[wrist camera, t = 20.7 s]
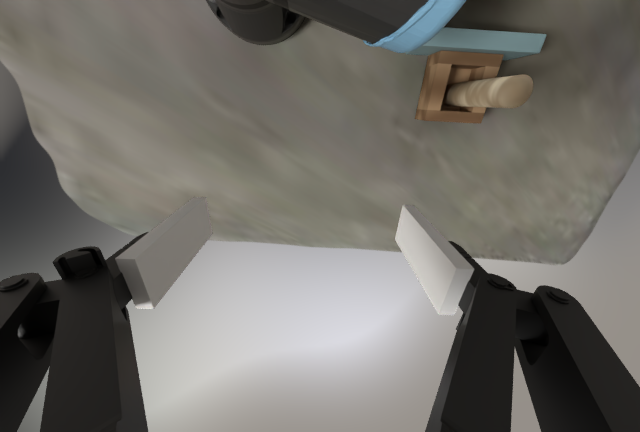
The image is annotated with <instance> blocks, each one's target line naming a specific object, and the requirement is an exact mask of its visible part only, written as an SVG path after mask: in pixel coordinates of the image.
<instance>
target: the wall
mask: <svg viewBox="0 0 640 432" xmlns="http://www.w3.org/2000/svg"><path fill="white" fill-rule="evenodd" d="M546 35H547V34H534V33H520V32H505V31H490V30H475V29H461V28H446V27H443V28H442V29H441V30H440V31H439V32H438V33H437V34H436V35H435V36H434V37H433V38H432V39H431V40H429V41H428V42H427V43H426V44H424V45H423V46H421V47H419V48H418V49H416V50H413V51H409V52H406V54H414V55H431V54H434V53H436V52H439V51H441V50H442V51H458V52H473V53H489V54H504V56H503V59H502V60H510V59H514V58H519V57H524V56H528V55H533V54H537V53H540V50H541V48H542V45H543V43H544V40H545V38H546Z"/></svg>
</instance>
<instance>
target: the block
mask: <svg viewBox="0 0 640 432" xmlns="http://www.w3.org/2000/svg"><path fill="white" fill-rule="evenodd" d="M503 56H504V54H489V53H473V52H458V51H442V50H441V51H439V52H436V53H434V54H431V55H429V56H428V60H427V65H426V69H425V74H424V79H423V83H422V88H421V93H420V97H419V102H418V107H417V111H416V116H415V119H419V120H425V121H444V122H463V123H481V122H482V119H483V116H484V113H485V110H486V107H467V106H445V105H443V104H442V101H443V97H444V93H445V89H446V85H448V84H452V83H460V82H468V81H475V80H483V79H491V78H496V77H497V74H498V71H499V68H500V65H501V62H502V59H503Z"/></svg>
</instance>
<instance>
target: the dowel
mask: <svg viewBox="0 0 640 432" xmlns="http://www.w3.org/2000/svg"><path fill="white" fill-rule="evenodd" d="M532 90H533V81H532V79H531V77H530V76H528V75H515V76H507V77H499V78H491V79H483V80H475V81H468V82H460V83H452V84H448V85H446V89H445V93H444V97H443V101H442V104H443V105H445V106H467V107H494V108H516V107H519V106H521V105H522V104H524V103H525V102H526V101H527V100H528V98H529V97H530V95H531V93H532Z"/></svg>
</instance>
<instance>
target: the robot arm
mask: <svg viewBox="0 0 640 432" xmlns="http://www.w3.org/2000/svg"><path fill="white" fill-rule="evenodd" d="M206 1H207V3H208V5H209V7H210V8H211V10H212V11H213V13H214V14H215V15H216V17H217V18H218V19H219V20H220V22H221V23H222V24H223V25H224V26H225V27H227V28H228V29H229V30H230V31H231V32H232V33H234V34H235V35H236V36H238V37H239V38H241V39H243V40H245V41H247V42H250V43H253V44H257V45H271V44H276V43H279V42H281V41H283V40H285V39H287V38H288V37H290V36H291V35H292V34H293V33H294V32H295V31H296V30H297V29H298V28H299V26H300V25H301V24H302V22H303V20H304V19H305V17H307V18H310V19H312V20H315V21H317V22H320V23H322V24H325V25H327V26H330V27H332V28H335V29H337V30H339V31H342V32H344V33H347V34H349V35H352V36H354V37H357V38H359V39H362V40H363V42H364V43H365V44H366V45H368V46H375V47H376V46H379V47H382V48H385V49H388V50H391V51H394V52H397V53H404V52H409V51H413V50H416V49H418V48H419V47H421V46H423V45H424V44H426V43H427V42H428V41H429V40H431V39H432V38H433V37H434V36H435V35H436V34H437V33H438V32H439V31H440V30H441V29H442V28H443V27H444V26H445V25H446V24H447V23H448V22H449V21H450V20H451V19H452V17H453V16H454V15H455V14H456V13H457V12H458V10H459V9H460V8H461V7H462V5H463V4H464V3H465V2H466V0H206ZM212 234H213V232H212V227H211V221H210V216H209V210H208V205H207V199H206V197H193V198H192V199H191V200H190V201H188V202H187V203H186V204H184V205H183V206H182V207H181V208H179V209H178V210H177V211H175V212H174V213H173V214H172V215H170V216H169V217H168V218H166V219H165V220H164V221H163V222H161V223H160V224H159V225H157V226H156V227H155V228H154V229H152V230H151V231H150V232H146V233H144V234H142V235H140V236H138V237H136V238H135V239H133V240H132V241H131V242H129V244H127V245H125V246H124V247H123V249H120V250H119V251H117V252H116V253H115V254H113V255H112V256H111V257H109V258H108V259H107V260H105V259H104V257H103V255H102V253H101V250H100V249H99V248H97V247H83V248H78V249H74V250H71V251H68V252H66V253H64V254H62V255H60V256H59V257H57V258H56V259H55V260H54V261H53V264H54V266H55V267H56V269H57V271H58V273H59V274H60V276H61V278H62V280H56V281H49V282H44V280H43V279H42V277H41V276H40V275H39V274H38V273H27V274H21V275H16V276H12V277H10V278H7V279H4V280H2V281H1V282H0V432H17V430H18V428H19V426H20V424H21V422H22V420H23V418H24V416H25V414H26V412H27V410H28V408H29V406H30V404H31V402H32V400H33V398H34V396H35V394H36V392H37V390H38V388H39V386H40V384H41V382H42V380H43V378H44V376H45V374H46V372H47V370H48V368H49V366H50V368H49V375H48V382H47V388H46V395H45V402H44V408H43V415H42V422H41V429H40V432H148V427H147V421H146V416H145V410H144V404H143V397H142V392H141V386H140V380H139V373H138V367H137V362H136V356H135V349H134V344H133V337H132V331H131V325H130V320H129V314H128V310H127V308H126V305H127V304H128V302H129V301H130V300H131V299H132V300H133V302H134V304H135V307H136V308H142V309H143V308H144V309H154V308H155V306H156V305H157V304H158V303H159V301H160V300H161V299H162V297H163V296H164V295H165V294H166V292H167V291H168V290H169V289H170V287H171V286H172V285H173V283H174V282H175V281H176V280H177V278H178V277H179V276H180V275H181V273H182V272H183V271H184V269H185V268H186V267H187V266H188V264H189V263H190V262H191V260H192V259H193V258H194V257H195V255H196V254H197V253H198V251H199V250H200V249H201V248H202V246H203V245H204V244H205V243H206V241H207V240H208V239H209V238H210V236H211V235H212ZM395 240H396V242H397V244H398V245H399V247H400V249H401V251H402V252H403V254H404V256H405V258H406V259H407V261H408V263H409V265H410V266H411V268H412V270H413V271H414V273H415V275H416V277H417V278H418V280H419V282H420V283H421V285H422V287H423V289H424V291H425V292H426V294H427V296H428V297H429V299H430V301H431V303H432V304H433V306H434V308H435V310H436V311H437V313H438V315H455V312H456V310H457V308H458V306H460V308H461V310H462V311H463V315H462V317H461V319H460V321H459V323H458V326H457V328H456V330H457V332H456V335H455V339H454V342H453V345H452V348H451V351H450V354H449V358H448V361H447V364H446V367H445V370H444V373H443V377H442V380H441V383H440V386H439V389H438V392H437V396H436V399H435V402H434V405H433V408H432V411H431V415H430V418H429V421H428V424H427V427H426V430H425V432H510V431H511V410H512V390H513V368H514V347H515V348H516V351H517V355H518V358H519V361H520V365H521V367H522V371H523V374H524V377H525V381H526V384H527V387H528V390H529V393H530V396H531V400H532V403H533V406H534V409H535V413H536V416H537V419H538V422H539V425H540V429H541V432H640V387H639V386H638V384H637V383H636V381H635V380H634V379H633V377H632V376H631V374H630V373H629V372H628V370H627V369H626V368H625V366H624V365H623V363H622V362H621V360H620V359H619V358H618V356H617V355H616V353H615V352H614V351H613V349H612V348H611V346H610V345H609V344H608V342H607V341H606V339H605V338H604V337H603V335H602V334H601V332H600V331H599V330H598V328H597V327H596V325H595V324H594V322H593V321H592V320H591V318H590V317H589V316H588V314H587V313H586V312H585V310H584V308H583V307H582V306H581V304H580V303H579V302H578V301H577V300H576V299H575V298H574V297H572V296H571V295H569V294H568V293H566V292H565V291H562V290H560V289H557V288H554V287H550V286H539V287H538V288H537V289H536V290H535V292H534V293H529V292H525V291H520V290H517V289H516V287H515V286H514V285H513V284H512V283H511V282H509V281H508V280H507V279H505V278H503V277H500V276H498V275H494V274H488V273H487V272H486V271H485V270H484V269H483V268H482V267H481V266H480V265H479V264H478V263H477V262H475V260H474V259H472V257H471V256H470V255H469V254H467V252H466V251H465V250H464V249H463V248H462V247H461V246H459V245H457V244H456V243H454V242H452V241H447V239H446V238H445V237H444V236H443V235H442V234H441V233H440V232H439V231H438V230H437V229H436V228H435V227H434V226H433V225H432V224H431V223H430V222H429V221H428V220H427V218H426V217H425V216H424V215H423V214H422V213H421V212H420V211H419V210H418V209H417V208H416V207H415V206H414V205H403V207H402V211H401V215H400V220H399V224H398V229H397V233H396V237H395Z"/></svg>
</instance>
